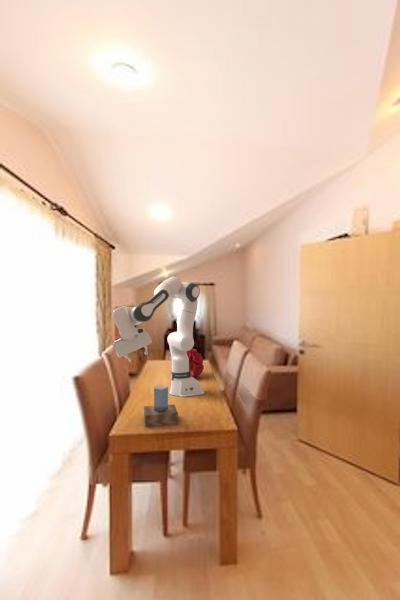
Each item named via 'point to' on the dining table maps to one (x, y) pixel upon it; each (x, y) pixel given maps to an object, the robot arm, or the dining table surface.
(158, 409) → the slate tin
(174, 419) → the walnut box
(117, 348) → the robot arm
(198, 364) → the bouquet
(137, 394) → the dining table surface
